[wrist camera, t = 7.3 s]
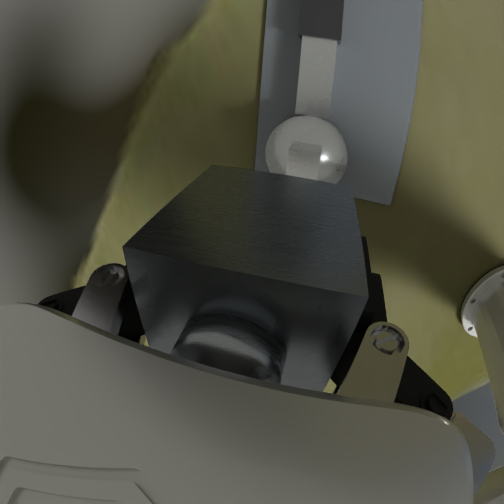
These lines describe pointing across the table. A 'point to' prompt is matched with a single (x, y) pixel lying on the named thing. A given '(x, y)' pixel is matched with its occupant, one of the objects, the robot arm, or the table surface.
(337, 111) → the mat
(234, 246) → the cube with round knob
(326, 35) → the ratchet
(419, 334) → the table surface
